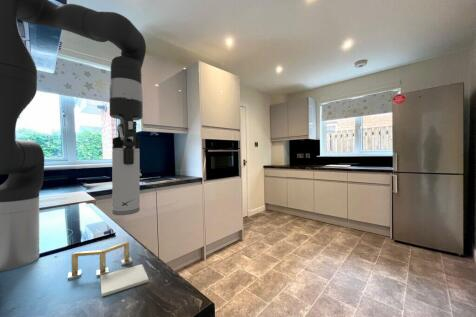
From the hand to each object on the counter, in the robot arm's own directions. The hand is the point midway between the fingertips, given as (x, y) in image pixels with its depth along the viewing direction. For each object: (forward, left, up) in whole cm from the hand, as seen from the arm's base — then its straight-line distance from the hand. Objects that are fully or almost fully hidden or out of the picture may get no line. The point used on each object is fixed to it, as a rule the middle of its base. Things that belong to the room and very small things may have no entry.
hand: (126, 163), depth 54 cm
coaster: (-1, -7, -27) cm, 28 cm away
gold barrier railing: (-5, +1, -27) cm, 27 cm away
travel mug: (0, 0, -13) cm, 13 cm away
